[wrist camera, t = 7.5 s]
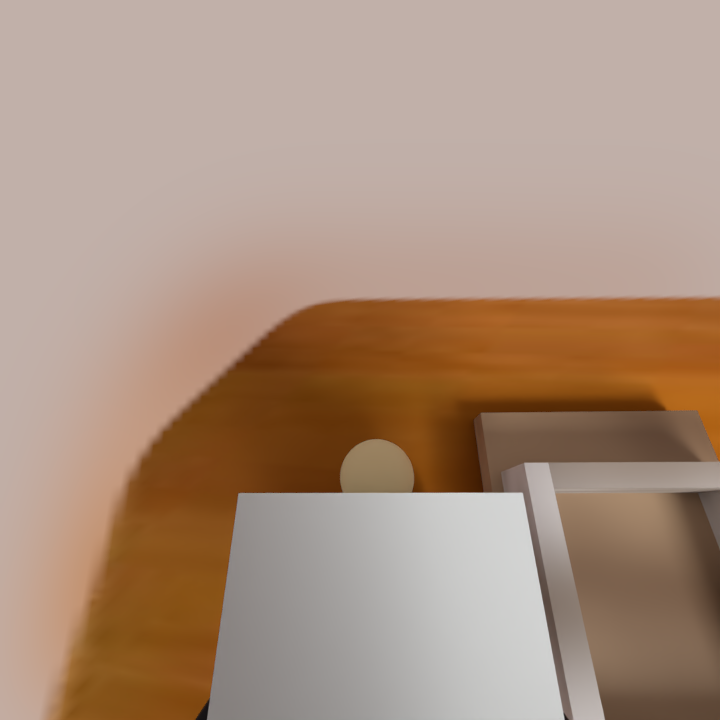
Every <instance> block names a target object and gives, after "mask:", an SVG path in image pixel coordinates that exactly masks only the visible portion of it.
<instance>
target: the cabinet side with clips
mask: <svg viewBox="0 0 720 720" xmlns="http://www.w3.org/2000/svg"><path fill="white" fill-rule="evenodd" d="M474 427H475V434H476V441H477V449H478V456H479V463H480V470H481V477H482V484H483V492H484V493H523V497H524V502H525V507H526V513H527V518H528V524H529V529H530V535H531V540H532V545H533V551H534V556H535V562H536V567H537V573H538V578H539V583H540V589H541V594H542V600H543V605H544V611H545V616H546V621H547V627H548V632H549V638H550V643H551V649H552V654H553V660H554V665H555V670H556V676H557V681H558V687H559V692H560V698H561V703H562V708H563V712H564V713H565V715H566V716H567V718H568V719H569V720H720V462H719V461H718V459H717V456H716V454H715V452H714V449H713V447H712V444H711V442H710V440H709V437H708V435H707V433H706V430H705V428H704V426H703V423H702V421H701V418H700V416H699V414H698V411H601V412H504V413H480V414H479V415H478V416H477V417H476V418H475V419H474Z"/></svg>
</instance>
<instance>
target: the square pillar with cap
mask: <svg viewBox="0 0 720 720" xmlns="http://www.w3.org/2000/svg"><path fill="white" fill-rule="evenodd" d="M340 483H341V488H342V491H343V493H239V494H238V501H237V509H236V516H235V523H234V530H233V537H232V544H231V552H230V559H229V566H228V573H227V580H226V587H225V594H224V602H223V609H222V616H221V623H220V630H219V637H218V645H217V652H216V659H215V666H214V673H213V680H212V687H211V695H210V702H209V709H208V716H207V720H565V719H564V714H563V708H562V703H561V698H560V692H559V687H558V681H557V676H556V670H555V665H554V660H553V654H552V649H551V643H550V638H549V632H548V627H547V621H546V616H545V611H544V605H543V600H542V594H541V589H540V583H539V578H538V573H537V567H536V562H535V556H534V551H533V545H532V540H531V535H530V529H529V524H528V518H527V513H526V507H525V502H524V497H523V493H412V490H413V485H414V472H413V467H412V464H411V462H410V460H409V458H408V456H407V455H406V454H405V452H404V451H403V450H402V449H401V448H400V447H398V446H397V445H395V444H394V443H392V442H389V441H386V440H382V439H371V440H367V441H364V442H362V443H360V444H358V445H356V446H355V447H354V448H353V449H351V451H350V452H349V453H348V454H347V456H346V457H345V459H344V461H343V464H342V466H341V471H340Z"/></svg>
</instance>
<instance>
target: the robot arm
mask: <svg viewBox="0 0 720 720" xmlns="http://www.w3.org/2000/svg"><path fill="white" fill-rule="evenodd" d="M209 702H210V698H209V700H208V701H207V703H206V704H205V706H204V707H203V709H202V710H201V712H200V713H199V715H198V716H197V718H196V719H195V720H207V716H208V709H209ZM563 714H564V719H565V720H569V719H568V718H567V716H566V715H565V713H564V712H563Z"/></svg>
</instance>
